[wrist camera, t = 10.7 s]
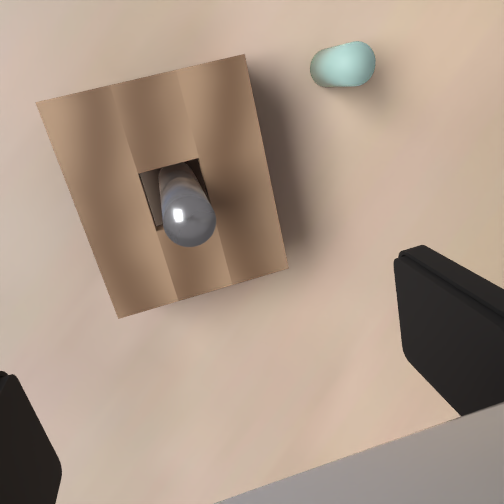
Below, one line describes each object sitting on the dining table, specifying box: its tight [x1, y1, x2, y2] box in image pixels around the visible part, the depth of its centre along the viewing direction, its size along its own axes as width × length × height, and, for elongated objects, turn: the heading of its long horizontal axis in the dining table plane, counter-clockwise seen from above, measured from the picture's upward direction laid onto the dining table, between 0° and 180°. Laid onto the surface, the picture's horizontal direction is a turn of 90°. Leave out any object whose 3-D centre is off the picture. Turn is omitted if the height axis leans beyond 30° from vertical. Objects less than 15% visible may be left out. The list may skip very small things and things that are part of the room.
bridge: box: [36, 54, 288, 319], centre depth 30 cm, size 12×14×6 cm
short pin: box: [310, 41, 375, 87], centre depth 30 cm, size 3×3×5 cm
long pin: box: [159, 162, 216, 247], centre depth 27 cm, size 3×3×12 cm
